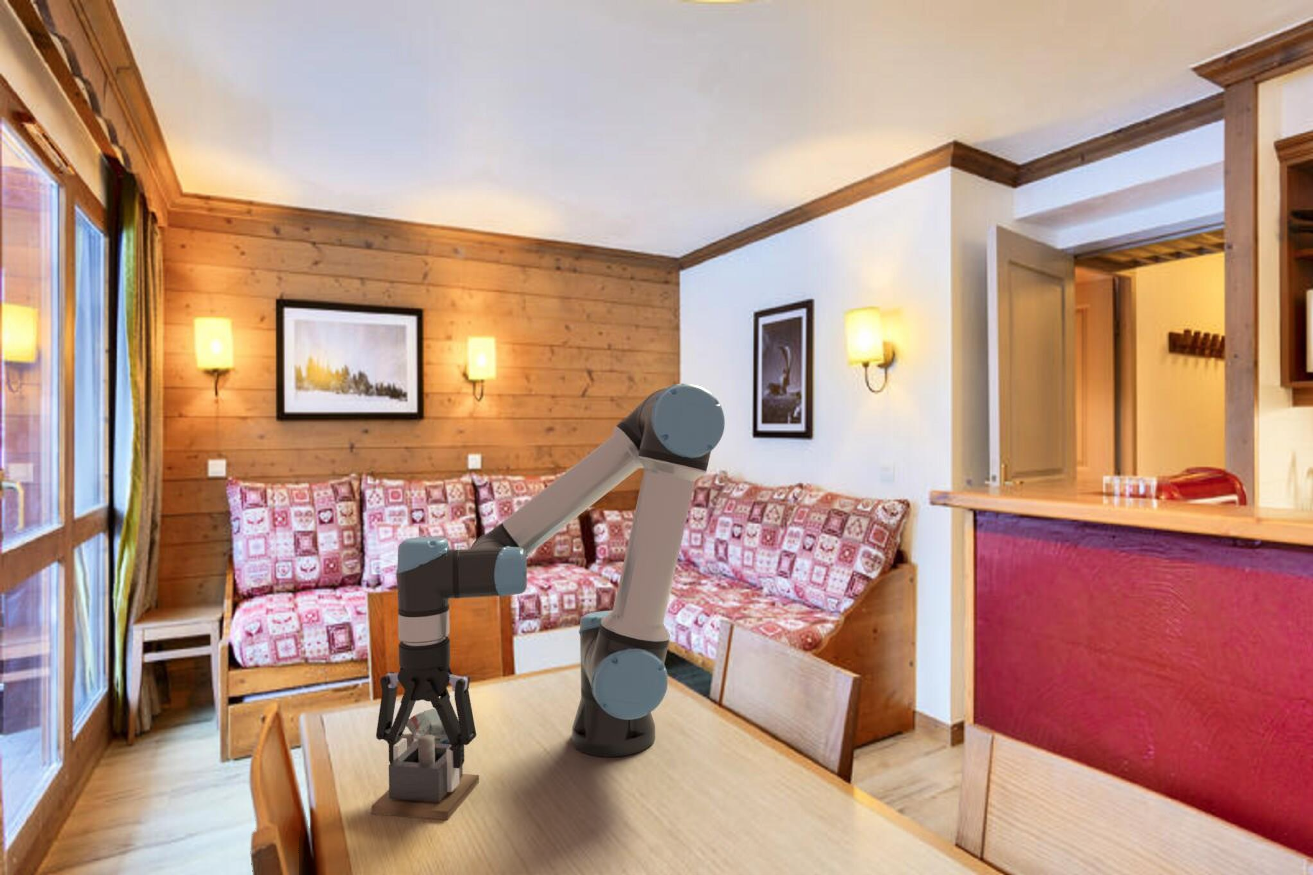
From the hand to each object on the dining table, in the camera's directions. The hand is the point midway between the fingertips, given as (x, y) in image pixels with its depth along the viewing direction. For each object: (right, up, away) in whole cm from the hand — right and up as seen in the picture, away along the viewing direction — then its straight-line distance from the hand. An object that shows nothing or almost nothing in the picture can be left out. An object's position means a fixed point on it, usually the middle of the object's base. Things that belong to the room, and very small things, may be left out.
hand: (427, 785), depth 109 cm
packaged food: (-6, -2, +21) cm, 22 cm away
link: (0, 0, 0) cm, 0 cm away
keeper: (0, -2, 0) cm, 2 cm away
